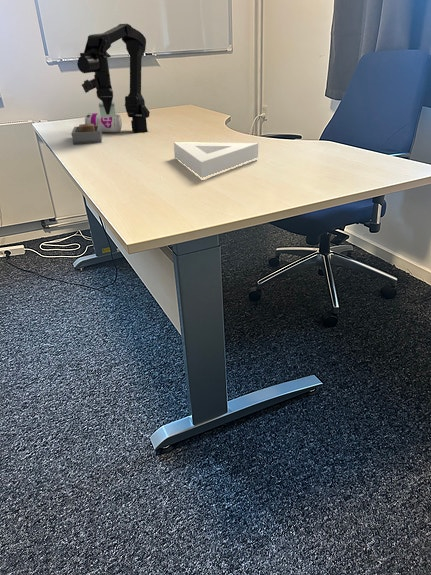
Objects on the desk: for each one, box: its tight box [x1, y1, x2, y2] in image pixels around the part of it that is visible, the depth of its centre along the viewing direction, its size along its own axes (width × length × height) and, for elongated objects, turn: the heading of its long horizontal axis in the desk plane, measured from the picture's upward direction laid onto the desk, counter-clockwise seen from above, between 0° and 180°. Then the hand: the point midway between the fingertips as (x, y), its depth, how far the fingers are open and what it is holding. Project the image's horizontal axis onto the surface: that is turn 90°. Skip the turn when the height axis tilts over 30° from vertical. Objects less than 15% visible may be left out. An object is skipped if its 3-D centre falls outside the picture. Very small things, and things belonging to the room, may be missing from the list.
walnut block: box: [77, 123, 95, 132], centre depth 185 cm, size 6×6×5 cm
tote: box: [71, 125, 103, 145], centre depth 185 cm, size 11×15×4 cm
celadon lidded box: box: [98, 101, 117, 118], centre depth 177 cm, size 6×6×5 cm
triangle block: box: [173, 141, 259, 178], centre depth 146 cm, size 30×26×6 cm
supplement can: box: [84, 112, 123, 134], centre depth 198 cm, size 8×8×15 cm
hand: (107, 113), depth 178 cm, fingers closed on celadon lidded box, 6 cm apart
